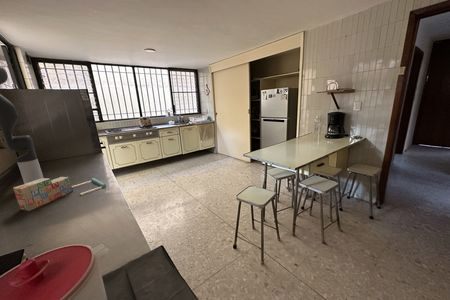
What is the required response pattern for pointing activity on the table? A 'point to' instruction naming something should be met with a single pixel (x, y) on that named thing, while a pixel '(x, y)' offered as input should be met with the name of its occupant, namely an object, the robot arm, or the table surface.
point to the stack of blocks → (41, 192)
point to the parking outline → (92, 189)
